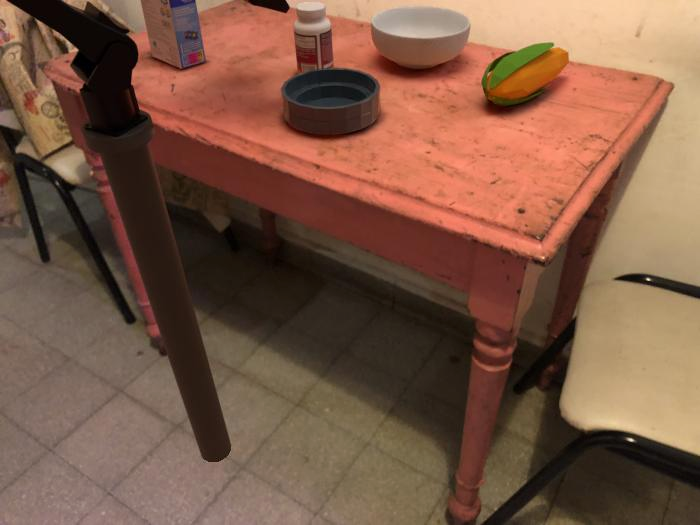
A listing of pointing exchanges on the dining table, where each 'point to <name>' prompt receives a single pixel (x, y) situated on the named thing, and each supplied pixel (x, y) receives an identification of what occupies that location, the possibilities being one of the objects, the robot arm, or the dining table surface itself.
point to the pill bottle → (313, 37)
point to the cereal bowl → (420, 35)
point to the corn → (523, 73)
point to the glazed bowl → (331, 100)
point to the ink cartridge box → (174, 31)
